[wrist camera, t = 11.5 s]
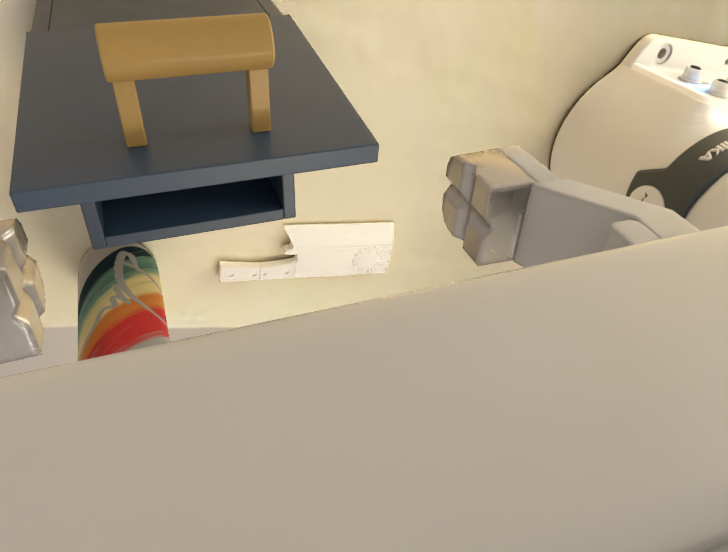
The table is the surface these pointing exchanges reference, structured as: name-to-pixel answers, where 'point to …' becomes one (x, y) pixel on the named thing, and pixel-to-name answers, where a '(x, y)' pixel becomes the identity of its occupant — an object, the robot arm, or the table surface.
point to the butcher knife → (321, 253)
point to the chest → (180, 207)
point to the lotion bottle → (119, 301)
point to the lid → (175, 109)
